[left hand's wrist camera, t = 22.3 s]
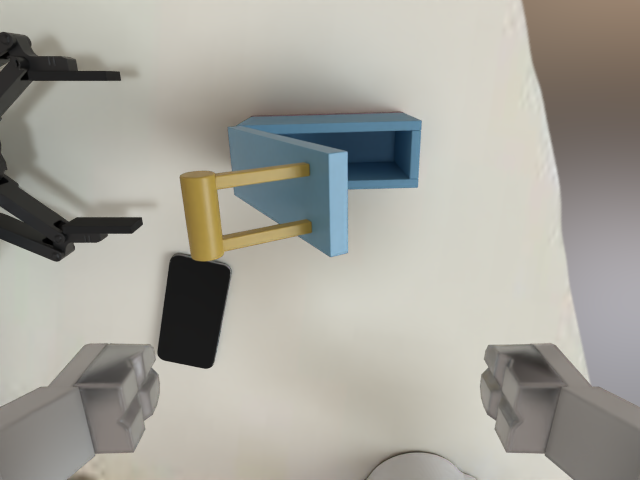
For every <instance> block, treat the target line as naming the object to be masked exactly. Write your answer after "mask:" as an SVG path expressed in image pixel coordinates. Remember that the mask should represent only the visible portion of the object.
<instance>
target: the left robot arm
mask: <svg viewBox="0 0 640 480" xmlns="http://www.w3.org/2000/svg"><path fill="white" fill-rule="evenodd" d="M155 360H156V357H155V352H154V348H153V347H152V346H151V345H150V344H107V343H95V344H87V345H84V346H83V347H82V349H81V350H80V351H79V352H78V353H77V354H76V355H75V356H74V358H73V359H72V360H71V361H70V362H69V363H68V364H67V365H66V367H65V368H64V369H63V370H62V371H61V372H60V373H59V375H58V376H57V377H56V378H55V379H54V380H53V381H52V382H51V384H50V385H49V386H48V387H39V388H37V389H35V390H33V391H32V392H30V393H28V394H26V395H24V396H22V397H20V398H18V399H16V400H14V401H12V402H10V403H8V404H6V405H4V406H2V407H0V480H67V479H68V478H69V477H70V476H72V475H73V474H74V473H75V472H76V471H77V470H79V469H80V468H81V467H82V466H83V465H85V464H86V463H87V462H88V461H89V460H91V459H92V458H93V457H94V456H95V454H96V453H130V452H134V451H135V449H136V447H137V445H138V443H139V441H140V439H141V437H142V435H143V433H144V431H145V424H144V420H146V419H147V418H148V417H150V416H151V415H153V413H154V410H155V408H156V406H157V403H158V398H159V394H160V381H159V375H158V374H157V373H156V372H155V371H154V370H153V369H152V368H151V367H152V365H153V364H154V362H155ZM484 360H485V362H486V364H487V365H488V367H489V368H488V369H487V370H486V371H485V372H484V373H483V374H482V375H481V383H480V391H481V399H482V403H483V406H484V408H485V411H486V413H487V415H489V416H490V417H492V418H493V419H494V420H496V424H495V431H496V433H497V435H498V437H499V439H500V441H501V443H502V445H503V447H504V449H505V451H506V452H509V453H544V454H545V456H546V457H547V458H548V459H550V460H551V461H552V462H553V463H554V464H556V465H557V466H558V467H559V468H560V469H562V470H563V471H564V472H565V473H566V474H567V475H569V476H570V477H571V478H572V479H573V480H640V407H638V406H636V405H634V404H632V403H630V402H628V401H626V400H624V399H622V398H620V397H618V396H616V395H614V394H612V393H610V392H608V391H606V390H604V389H603V388H600V387H592V386H591V385H590V384H589V382H588V381H587V380H586V379H585V378H584V377H583V376H582V375H581V373H580V372H579V371H578V370H577V369H576V368H575V367H574V366H573V364H572V363H571V362H570V361H569V360H568V359H567V358H566V356H565V355H564V354H563V353H562V352H561V351H560V350H559V349H558V347H557V346H556V345H553V344H551V343H541V344H517V345H488V347H487V349H486V351H485V357H484ZM366 480H477V479H476V478H474V477H472V476H470V475H467V474H464V473H462V472H461V471H460V470H459V469H458V468H457V467H456V466H455V465H454V464H453V463H451V462H450V461H448V460H447V459H445V458H443V457H441V456H438V455H435V454H430V453H422V452H415V453H406V454H401V455H398V456H395V457H392V458H390V459H388V460H386V461H384V462H383V463H381V464H380V465H379V466H378V467H376V468H375V469H374V470H373V472H372V473H371V474H370V476H369V477H368V478H367V479H366Z"/></svg>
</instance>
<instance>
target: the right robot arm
mask: <svg viewBox="0 0 640 480" xmlns="http://www.w3.org/2000/svg"><path fill="white" fill-rule="evenodd" d="M7 62H9V63H8V64H7V65H6V66H5V67H4V68H3V70H2V71H1V72H0V121H1V119H2V118H1V116H2V115H3V114H4V112H5V111H6V110H7V109H8V108H9V107H10V106H11V105H12V104H13V102H14V101H15V100H16V99H17V98H18V97H19V96H20V95H21V93H22V92H23V91H24V90H25V89H26V88H27V87H28V86H29V84H30V83H31V82H32V81H121V78H120V72H115V71H78V69H77V64H76V60H75V59H73V58H70V57H62V56H37V55H36V54H35V53H34V52H33V50H32V48H31V41H30V39H29V38H28V37H27V36H25V35H20V34H14V33H6V32H1V33H0V67H1V66H2V65H4V64H6V63H7ZM5 170H7V166H6V162H5V160H4V158H3V156H2V154H1V142H0V206H1V207H2V208H4V209H5V210H7V211H8V212H10V213H11V214H13V215H14V216H16V217H17V218H19V219H20V220H22V221H23V222H22V221H20V220H17V219H15V218H13V217H10V216H8V215H5V214H3V213H0V239H2V240H4V241H7V242H9V243H12V244H14V245H16V246H19V247H21V248H24V249H26V250H29V251H31V252H33V253H36V254H38V255H41V256H43V257H46V258H48V259H50V260H53V261H56V262H57V261H60V260H61V259H63V258H64V257H66V256H67V255H69V254H70V253H71V252H73V251H74V250H75V246H74V244H73V243H86V242H87V243H90V242H91V243H97V242H99V241H102V240H103V239H104V238H106V237H107V236H108V234H132V233H133V232H134V231H136V230H137V229H138V228H139V227H140V226H142V225H143V222H142V217H77V218H75V219H73V220H71V221H70V222H68V221H67V220H65V219H64V218H62V217H61V216H60V215H58V214H57V213H55V212H54V211H52V210H51V209H49V208H48V207H46V206H45V205H44V204H42V203H41V202H39V201H38V200H36V199H35V198H33V197H32V196H30V195H29V194H27V193H26V192H25V191H23V190H22V189H20V188H19V187H18V183H16V182H15V181H14V180H12V179H11V178H9V177H8V176H6V175H5V174H4V172H5Z"/></svg>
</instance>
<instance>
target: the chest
mask: <svg viewBox="0 0 640 480" xmlns="http://www.w3.org/2000/svg"><path fill="white" fill-rule="evenodd" d="M421 123H422V121H421V120H419V119H416V118H414V117H412V116H409V115H407V114H405V113H403V112H382V113H345V114H308V115H270V116H251V117H250V118H248V119H247V120H245V121H243V122H242V123H240V124H238V125H236V126H243V127H247V128H252V129H256V130H260V131H264V132H268V133H273V134H277V135H281V136H285V137H290V138H294V139H298V140H302V141H306V142H311V143H315V144H319V145H323V146H327V147H332V148H336V149H340V150H344V151H347V152H348V189H381V188H417V187H418V174H419V157H420V139H421Z"/></svg>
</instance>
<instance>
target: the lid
mask: <svg viewBox="0 0 640 480" xmlns="http://www.w3.org/2000/svg"><path fill="white" fill-rule="evenodd" d="M228 136H229V146H230V156H231V166H232V172H224V173H216V174H215V173H214V172H211V171H193V172H188V173H184V174H182V175H180V183H181V190H182V197H183V204H184V211H185V218H186V225H187V232H188V238H189V245H190V252H191V257H192V259H194V260H196V261H211V260H215V259H218V258H220V257H222V256H223V254H224V251H229V250H233V249H238V248H243V247H247V246H252V245H257V244H262V243H266V242H271V241H276V240H280V239H285V238H290V237H294V236H299V237H300V238H302V239H303V240H305V241H306V242H308V243H309V244H311V245H312V246H314V247H315V248H317V249H319V250H320V251H322V252H323V253H325V254H326V255H328V256H329V257H333V256H337V255H341V254H345V253H348V152H347V151H344V150H340V149H336V148H332V147H327V146H323V145H319V144H315V143H311V142H306V141H302V140H298V139H294V138H290V137H285V136H281V135H277V134H273V133H268V132H264V131H260V130H256V129H252V128H247V127H243V126H234V127H228ZM231 187H234V195H235V196H237V197H238V198H240V199H242V200H243V201H245V202H246V203H248V204H249V205H251V206H252V207H254V208H255V209H257V210H258V211H260V212H262V213H263V214H265V215H266V216H268V217H269V218H271V219H272V220H274V221H275V222H277V223H279V224H278V225H273V226H268V227H263V228H258V229H253V230H248V231H243V232H238V233H233V234H228V235H222V229H221V220H220V211H219V202H218V194H217V189H224V188H231Z"/></svg>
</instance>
